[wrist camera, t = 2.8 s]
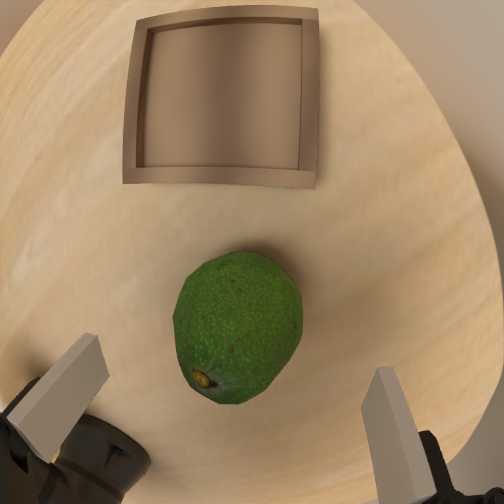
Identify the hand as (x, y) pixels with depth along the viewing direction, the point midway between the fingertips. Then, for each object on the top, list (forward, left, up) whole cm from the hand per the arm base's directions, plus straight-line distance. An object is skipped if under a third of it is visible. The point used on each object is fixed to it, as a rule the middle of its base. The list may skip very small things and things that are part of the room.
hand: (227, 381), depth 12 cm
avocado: (0, 0, -11) cm, 11 cm away
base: (-2, +14, -11) cm, 18 cm away
